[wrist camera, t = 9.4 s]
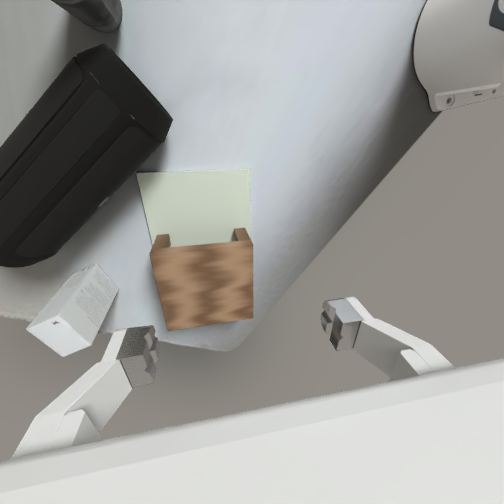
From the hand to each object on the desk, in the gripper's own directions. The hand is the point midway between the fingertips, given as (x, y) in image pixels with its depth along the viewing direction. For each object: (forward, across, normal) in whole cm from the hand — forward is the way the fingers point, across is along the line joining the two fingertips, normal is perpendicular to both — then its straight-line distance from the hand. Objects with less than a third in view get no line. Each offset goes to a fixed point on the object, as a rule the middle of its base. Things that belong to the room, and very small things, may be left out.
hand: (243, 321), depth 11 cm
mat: (+28, +3, +10) cm, 30 cm away
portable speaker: (+28, +17, -4) cm, 33 cm away
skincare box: (+28, +21, +14) cm, 37 cm away
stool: (+24, +3, +7) cm, 25 cm away
